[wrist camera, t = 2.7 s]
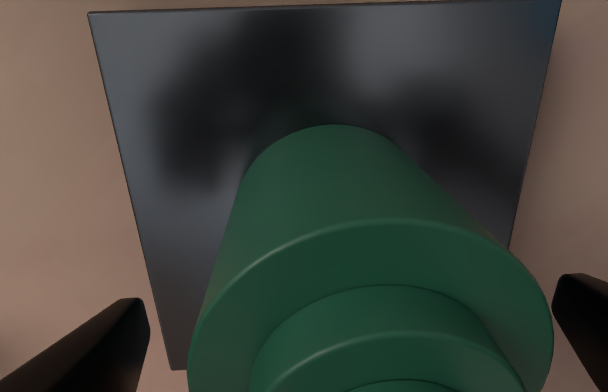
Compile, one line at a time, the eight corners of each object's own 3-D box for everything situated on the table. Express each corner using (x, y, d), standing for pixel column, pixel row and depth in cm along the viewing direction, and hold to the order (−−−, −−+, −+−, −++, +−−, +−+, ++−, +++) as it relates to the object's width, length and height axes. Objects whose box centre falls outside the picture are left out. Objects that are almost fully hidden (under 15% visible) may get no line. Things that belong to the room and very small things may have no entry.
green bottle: (435, 119, 10) (1374, 615, 1) (416, 292, 13) (731, 890, 4) (222, 128, 10) (-222, 768, 1) (243, 302, 13) (141, 959, 4)
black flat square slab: (518, 3, 11) (565, -4, 9) (464, 315, 16) (487, 351, 14) (118, 16, 11) (84, 11, 9) (183, 332, 16) (170, 371, 14)
